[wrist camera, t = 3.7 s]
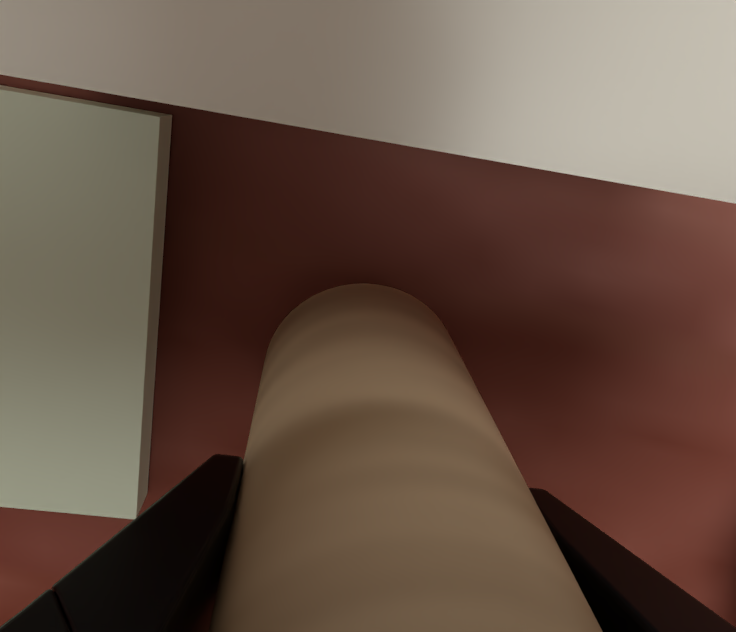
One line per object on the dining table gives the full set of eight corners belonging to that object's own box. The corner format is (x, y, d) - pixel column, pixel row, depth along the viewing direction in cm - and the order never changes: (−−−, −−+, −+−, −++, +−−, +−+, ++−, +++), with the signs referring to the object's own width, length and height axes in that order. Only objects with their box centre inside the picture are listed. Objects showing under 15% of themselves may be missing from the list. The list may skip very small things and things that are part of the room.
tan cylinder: (434, 468, 14) (675, 1278, 4) (253, 448, 13) (90, 1310, 4) (476, 298, 12) (942, 936, 3) (276, 269, 12) (112, 924, 3)
